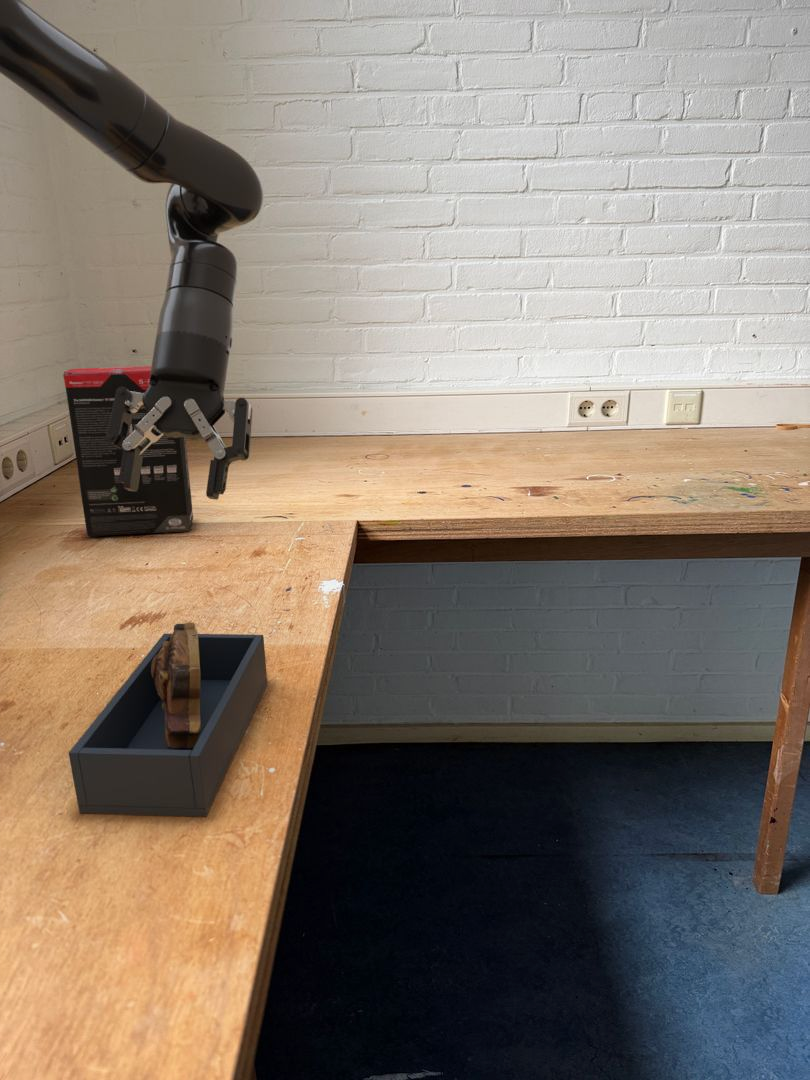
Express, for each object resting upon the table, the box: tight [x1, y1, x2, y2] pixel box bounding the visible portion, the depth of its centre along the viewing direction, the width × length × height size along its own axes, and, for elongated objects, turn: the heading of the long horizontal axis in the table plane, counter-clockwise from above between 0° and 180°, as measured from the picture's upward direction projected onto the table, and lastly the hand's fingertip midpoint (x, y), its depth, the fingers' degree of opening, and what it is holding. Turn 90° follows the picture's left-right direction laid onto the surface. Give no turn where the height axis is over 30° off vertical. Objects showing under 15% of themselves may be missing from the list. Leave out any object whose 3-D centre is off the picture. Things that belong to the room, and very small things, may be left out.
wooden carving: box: [151, 621, 201, 749], centre depth 73 cm, size 16×5×10 cm, turn 21°
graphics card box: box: [62, 365, 194, 537], centre depth 131 cm, size 17×7×27 cm, turn 100°
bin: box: [68, 633, 268, 818], centre depth 74 cm, size 11×22×6 cm, turn 176°
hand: (171, 494), depth 81 cm, fingers open, 8 cm apart
